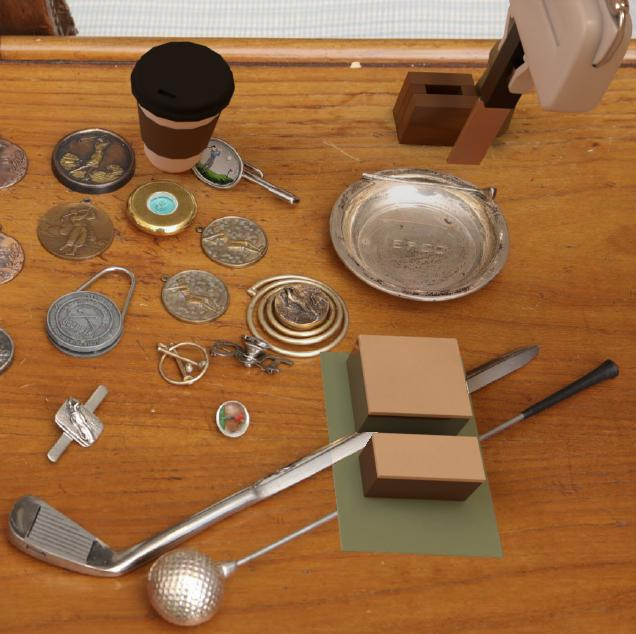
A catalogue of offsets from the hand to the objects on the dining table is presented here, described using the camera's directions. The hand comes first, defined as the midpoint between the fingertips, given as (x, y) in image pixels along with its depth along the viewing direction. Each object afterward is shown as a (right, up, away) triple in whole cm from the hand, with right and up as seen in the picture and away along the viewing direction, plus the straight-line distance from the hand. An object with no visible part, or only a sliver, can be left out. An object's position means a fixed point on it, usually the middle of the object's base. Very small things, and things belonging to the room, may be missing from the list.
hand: (512, 71), depth 76 cm
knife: (0, -6, +9) cm, 11 cm away
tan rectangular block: (-6, -35, +7) cm, 36 cm away
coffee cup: (-25, -2, +29) cm, 38 cm away
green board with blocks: (-6, -33, +9) cm, 35 cm away
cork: (+11, +3, +32) cm, 34 cm away
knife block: (+5, +2, +31) cm, 32 cm away
